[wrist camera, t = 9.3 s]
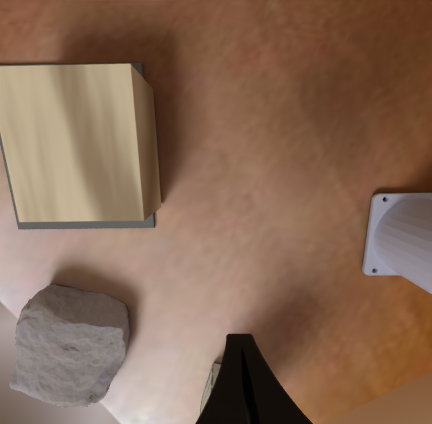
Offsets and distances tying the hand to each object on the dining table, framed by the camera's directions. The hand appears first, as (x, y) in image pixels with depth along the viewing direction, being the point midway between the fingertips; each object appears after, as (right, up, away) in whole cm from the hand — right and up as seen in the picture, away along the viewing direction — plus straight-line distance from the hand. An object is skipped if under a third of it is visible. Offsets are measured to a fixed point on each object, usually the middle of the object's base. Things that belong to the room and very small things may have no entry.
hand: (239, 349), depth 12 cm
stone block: (-16, -6, +13) cm, 21 cm away
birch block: (-6, +12, +5) cm, 15 cm away
